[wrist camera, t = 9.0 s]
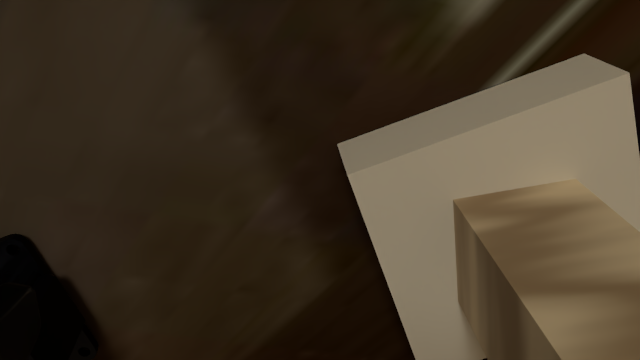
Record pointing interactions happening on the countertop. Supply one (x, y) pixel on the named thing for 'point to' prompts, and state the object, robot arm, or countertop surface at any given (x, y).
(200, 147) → the countertop surface
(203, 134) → the countertop surface
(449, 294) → the base slab
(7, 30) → the countertop surface
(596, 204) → the oak post
